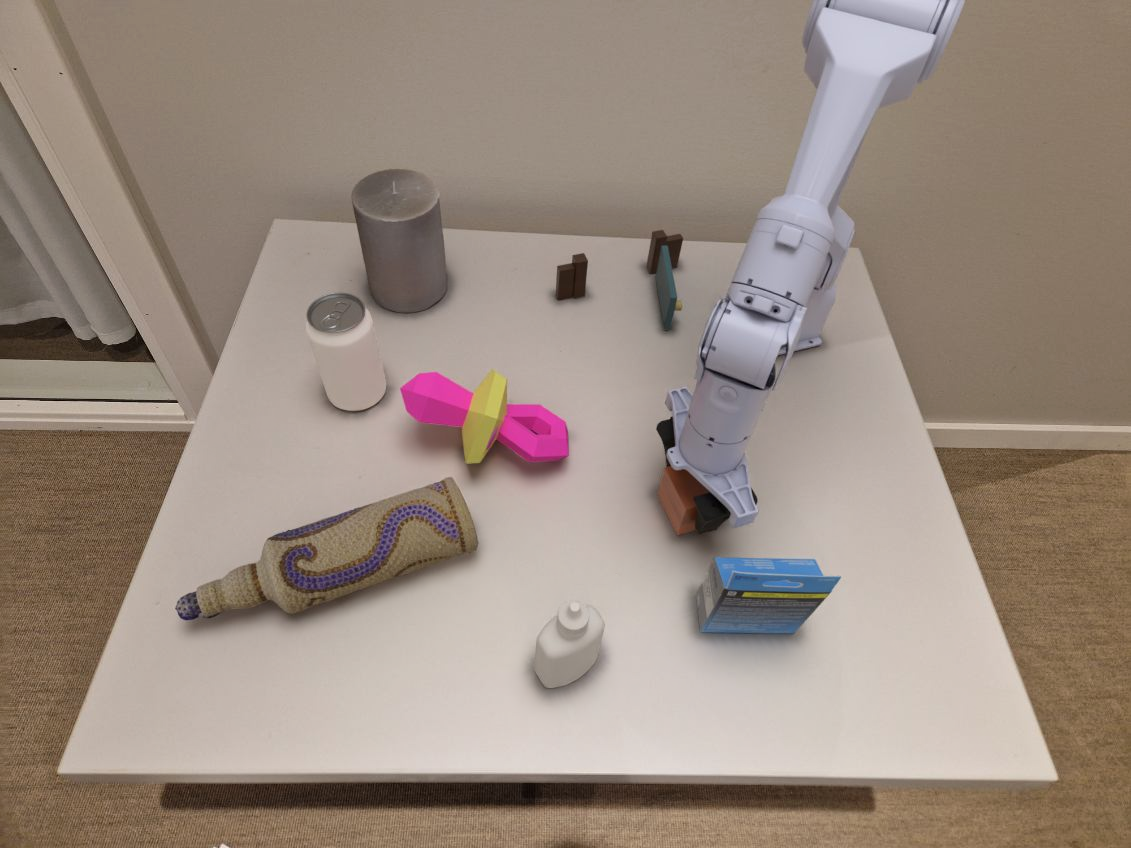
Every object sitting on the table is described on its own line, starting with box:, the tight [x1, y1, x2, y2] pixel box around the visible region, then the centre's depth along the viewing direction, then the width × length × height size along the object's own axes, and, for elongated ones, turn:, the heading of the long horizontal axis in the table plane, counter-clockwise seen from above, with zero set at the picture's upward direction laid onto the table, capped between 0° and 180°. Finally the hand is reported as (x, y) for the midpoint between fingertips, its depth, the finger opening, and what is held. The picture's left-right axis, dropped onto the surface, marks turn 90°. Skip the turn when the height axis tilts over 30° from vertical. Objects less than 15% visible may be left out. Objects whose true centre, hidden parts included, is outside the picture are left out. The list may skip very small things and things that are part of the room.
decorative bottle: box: [174, 476, 479, 621], centre depth 65 cm, size 26×8×7 cm, turn 113°
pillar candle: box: [351, 168, 448, 314], centre depth 85 cm, size 10×10×15 cm
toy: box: [399, 368, 570, 465], centre depth 74 cm, size 10×18×10 cm, turn 82°
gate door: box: [655, 246, 683, 330], centre depth 89 cm, size 2×10×5 cm, turn 2°
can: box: [305, 291, 387, 412], centre depth 76 cm, size 6×6×12 cm
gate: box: [555, 229, 684, 301], centre depth 92 cm, size 2×17×6 cm, turn 117°
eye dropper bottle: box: [534, 599, 606, 689], centre depth 59 cm, size 4×6×12 cm
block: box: [656, 466, 710, 536], centre depth 72 cm, size 5×5×5 cm
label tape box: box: [695, 556, 842, 634], centre depth 62 cm, size 9×4×12 cm, turn 90°
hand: (691, 501), depth 72 cm, fingers open, 6 cm apart
